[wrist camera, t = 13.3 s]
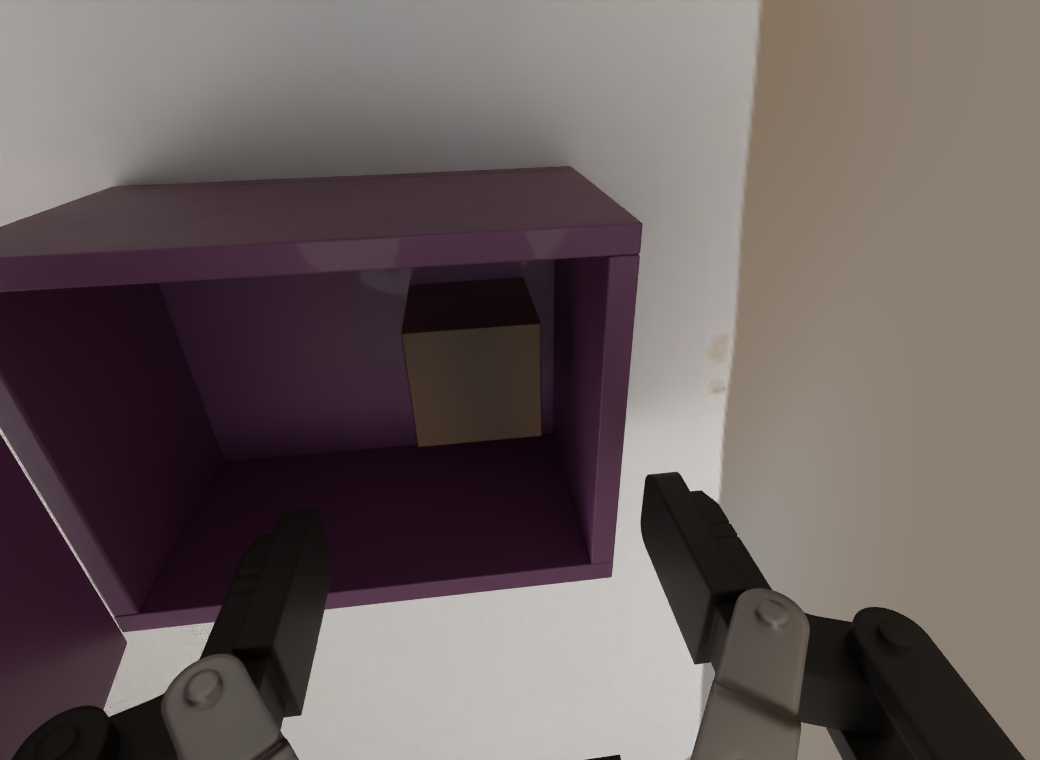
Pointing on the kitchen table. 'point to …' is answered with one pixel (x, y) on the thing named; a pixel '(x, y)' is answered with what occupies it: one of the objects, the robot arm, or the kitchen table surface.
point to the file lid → (45, 618)
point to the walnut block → (473, 361)
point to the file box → (310, 382)
